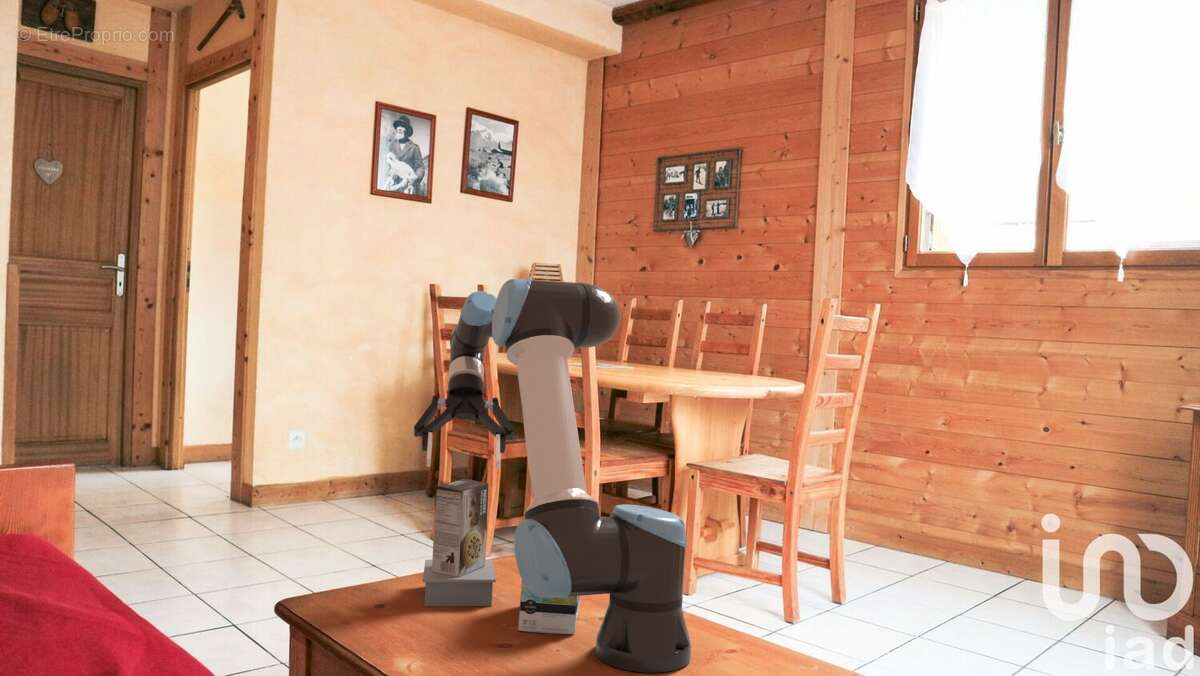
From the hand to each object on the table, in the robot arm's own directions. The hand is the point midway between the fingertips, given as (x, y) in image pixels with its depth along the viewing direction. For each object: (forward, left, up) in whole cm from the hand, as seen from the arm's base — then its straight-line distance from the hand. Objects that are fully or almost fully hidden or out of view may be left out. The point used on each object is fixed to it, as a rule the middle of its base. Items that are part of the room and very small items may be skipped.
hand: (463, 463), depth 171 cm
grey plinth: (-10, 0, -23) cm, 25 cm away
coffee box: (-10, 0, -18) cm, 21 cm away
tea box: (-23, -16, -24) cm, 37 cm away
